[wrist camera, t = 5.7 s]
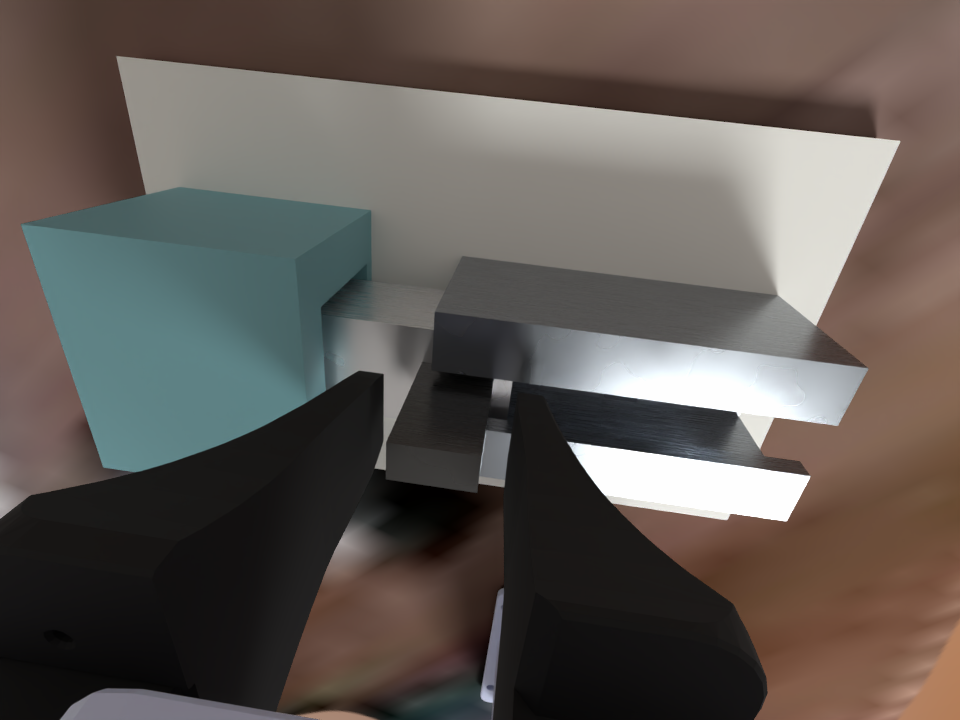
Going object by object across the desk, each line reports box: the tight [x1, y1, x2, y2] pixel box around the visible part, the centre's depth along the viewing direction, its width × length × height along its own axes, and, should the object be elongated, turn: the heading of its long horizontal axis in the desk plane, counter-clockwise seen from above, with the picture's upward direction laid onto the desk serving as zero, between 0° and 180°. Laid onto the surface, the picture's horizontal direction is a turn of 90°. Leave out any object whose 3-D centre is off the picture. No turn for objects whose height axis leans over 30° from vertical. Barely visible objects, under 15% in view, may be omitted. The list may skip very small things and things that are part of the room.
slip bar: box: [321, 278, 513, 493], centre depth 13 cm, size 3×10×7 cm, turn 85°
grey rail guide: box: [431, 256, 868, 521], centre depth 15 cm, size 5×10×5 cm, turn 85°
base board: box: [116, 56, 900, 520], centre depth 17 cm, size 14×22×1 cm, turn 85°
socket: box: [21, 187, 372, 472], centre depth 15 cm, size 7×6×6 cm
